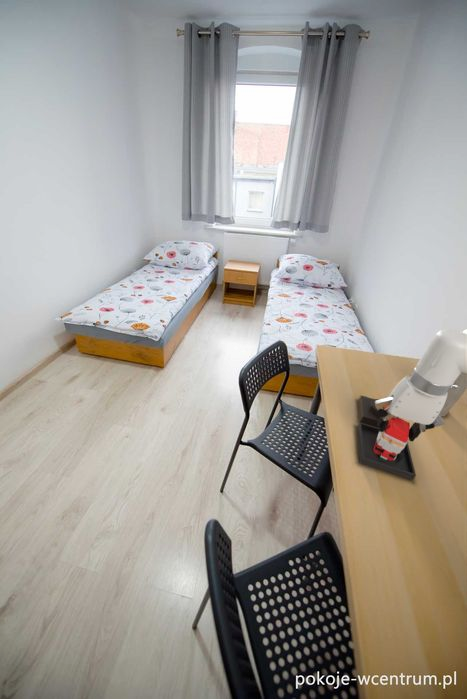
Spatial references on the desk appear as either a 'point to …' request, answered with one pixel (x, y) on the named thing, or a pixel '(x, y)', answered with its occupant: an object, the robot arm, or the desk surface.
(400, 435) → the figurine
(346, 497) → the desk surface
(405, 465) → the tray
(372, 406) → the console
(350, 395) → the desk surface
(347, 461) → the desk surface
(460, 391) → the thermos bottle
